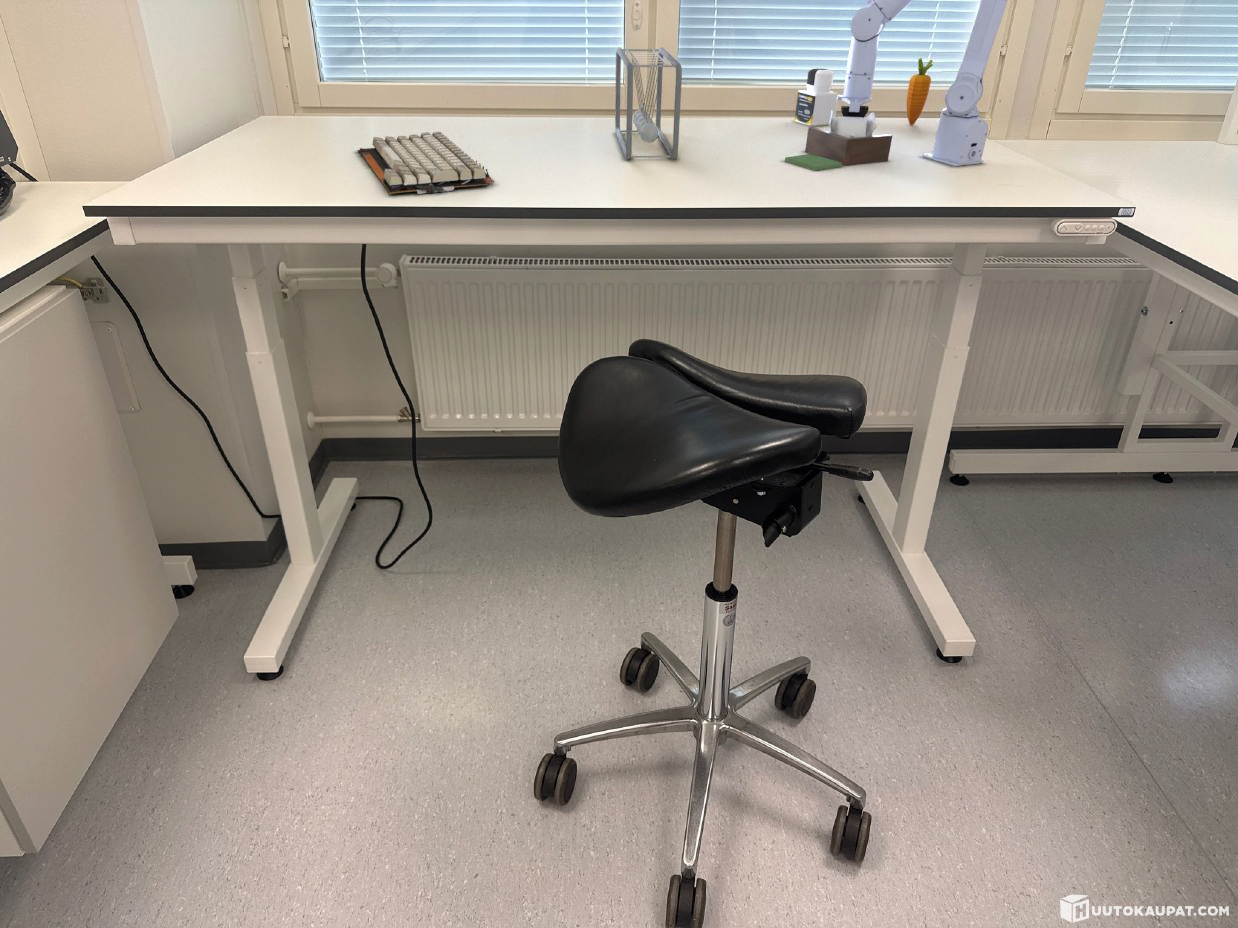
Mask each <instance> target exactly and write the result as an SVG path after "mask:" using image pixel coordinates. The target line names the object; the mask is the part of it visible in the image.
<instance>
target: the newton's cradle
mask: <svg viewBox="0 0 1238 928" xmlns="http://www.w3.org/2000/svg"><path fill="white" fill-rule="evenodd" d="M625 52H627V53H628V55H629V56H630V57H631V61H630V59H629V57H628V55H626V53H625ZM633 52H640V54H633ZM637 56H638V57H652V59H641V61H646V62H647V61H651V64H644V62H638V59H637V58H636V57H637ZM664 59H666V60H667V61H668V62H669V63H670V64H669V63H668V62H667V61H666V60H664ZM622 62H623V64H624V65H625V67H626V73H627V75H626V127H625V128H626V129H625V130H621V80H622V79H621V76H622ZM641 68H650V71H649V76H648V81H647V84H646V85H647V86H646V91H645V93H644V88H643V81H642V73H641ZM663 68H675V89H674V108H673V109H674V111H673V131H672V132H673V133H672V146H671V144H670V142H669V141H668V139H667V138H666V136H665V134H664V132H663V131H662V128H661V125H662V124H661V122H662V121H661V119H662V118H661V117H662V97H663V96H662V95H663V94H662V93H663V72H664V71H663ZM653 75H654V77H653ZM656 75H657V76H656ZM682 80H683V67H682V64H681V63H680V62H679V61H678V60H677V59H676V58H675V57H674V56H672V55H671V54H670V52H668V51H667V50H666V49H665V48H664V47H660V48H659V49H657V48H656V49H655V48H654V49H653V48H649V49H648V48H622V47H620V46H618V47H617V48H616V49H615V92H614V93H615V94H614V96H615V98H614V99H615V101H614V104H615V105H614V129H615V134H616V136H617V137H616V138H617V139H618V142H619V145H620V147H621V150H622V152H623V155H624V158H625V160H627V161H629V160H631V159H647V158H648V159H653V158H655V159H660V158H661V159H662V158H663V159H664V158H667V159H668V158H669V159H671V160H676V159H677V158H678V155H679V141H680V140H679V139H680V138H679V137H680V121H681V120H680V119H681V100H682V98H681V97H682ZM652 81H653V82H652ZM634 82H635V88H636V96H637V102H638V109H637V110H636V111H634V110H633V107H634V106H633V105H634V104H633V102H634ZM654 84H655V85H654ZM648 87H649V88H648ZM653 89H654V90H653ZM650 90H651V91H650ZM655 92H656V93H655ZM655 94H656V95H655ZM649 95H650V96H649ZM654 97H655V99H654ZM651 98H652V99H651ZM648 100H649V101H648ZM653 102H654V104H653ZM650 103H651V104H650ZM652 106H653V108H652ZM633 111H634V113H633ZM651 111H652V113H651ZM654 112H655V122H654V121H653V117H654ZM633 124H634V127H635V128H636V130H634V129H633ZM622 133H625V137H626V138H625V139H626V140H625V139H624V136H623V134H622ZM633 133H638V135H639V137H640V139H641V140H642V141H643V142H645V143H647V144H651V143H653V142H655V141H656V140H657V138H659V140H660V141H661V143H662V145H663V147H664V148H665V150H666V152H667V154H668V155H632V153H633V152H632V150H633V149H632V148H633Z"/></svg>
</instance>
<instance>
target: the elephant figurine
mask: <svg viewBox="0 0 1238 928" xmlns="http://www.w3.org/2000/svg"><path fill="white" fill-rule="evenodd" d="M828 128H829V129H828V130H827V131H828V132H832V133H835V134H838V135H841V136H844V137H848V138H853V137H864V136H873V133H874V132H875V131H876V129H877V122H876V114H875V111H872V112H871V113H869V114H868V115H867V116H865V117H864V118H862V117H843V116H836V117H834V116H833V111H832V110H831V117H830V123H829V125H828Z"/></svg>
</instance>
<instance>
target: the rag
mask: <svg viewBox="0 0 1238 928" xmlns="http://www.w3.org/2000/svg"><path fill="white" fill-rule="evenodd" d="M784 162H786V163H789V164H792V165H795V166H798V167H802V168H804V169H805V168H806V169H809V170H812V171H822V170H828V169H830V170H831V169H836V168H841V167H842V166H843V165H842V163H841V162H838V161H834V160H831V159H827V158H823V157H820V156H816V155H813V154H810V153H807V154H798V155H794V156H793V155H791V156H786V157H784Z"/></svg>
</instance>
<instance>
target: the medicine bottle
mask: <svg viewBox="0 0 1238 928" xmlns="http://www.w3.org/2000/svg"><path fill="white" fill-rule="evenodd" d="M834 76H835V73H834V71H833V70H832V69H828V68H811V69H809V70H808V72H807V79H806V88H807V89H799V90H798V92H797V96H796V105H795V114H794V121H795V122H796V123H800V124H802V125H806V126H808V127H817V126H829V123H830V117H831V110H832V111H833V116H834V117H837V109H838V102H839V100H838V99H837V95H840V94H839V92H837V91H833V90H832V88H833V83H834Z"/></svg>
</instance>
